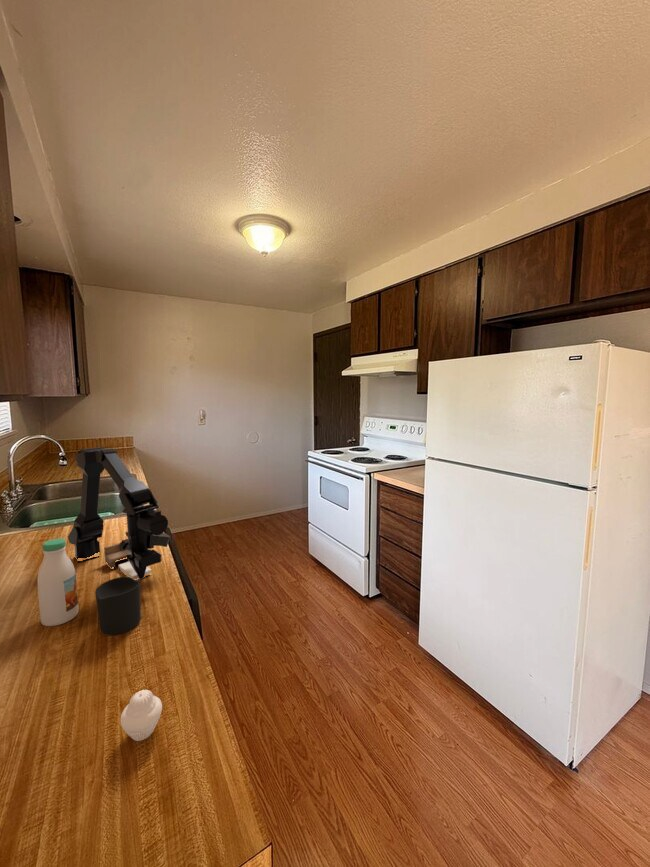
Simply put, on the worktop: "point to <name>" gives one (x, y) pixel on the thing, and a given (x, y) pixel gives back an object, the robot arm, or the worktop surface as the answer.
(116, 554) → the l-shaped bracket
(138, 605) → the pen holder
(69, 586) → the milk bottle
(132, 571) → the tile
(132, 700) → the white rounded lump
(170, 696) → the worktop surface
